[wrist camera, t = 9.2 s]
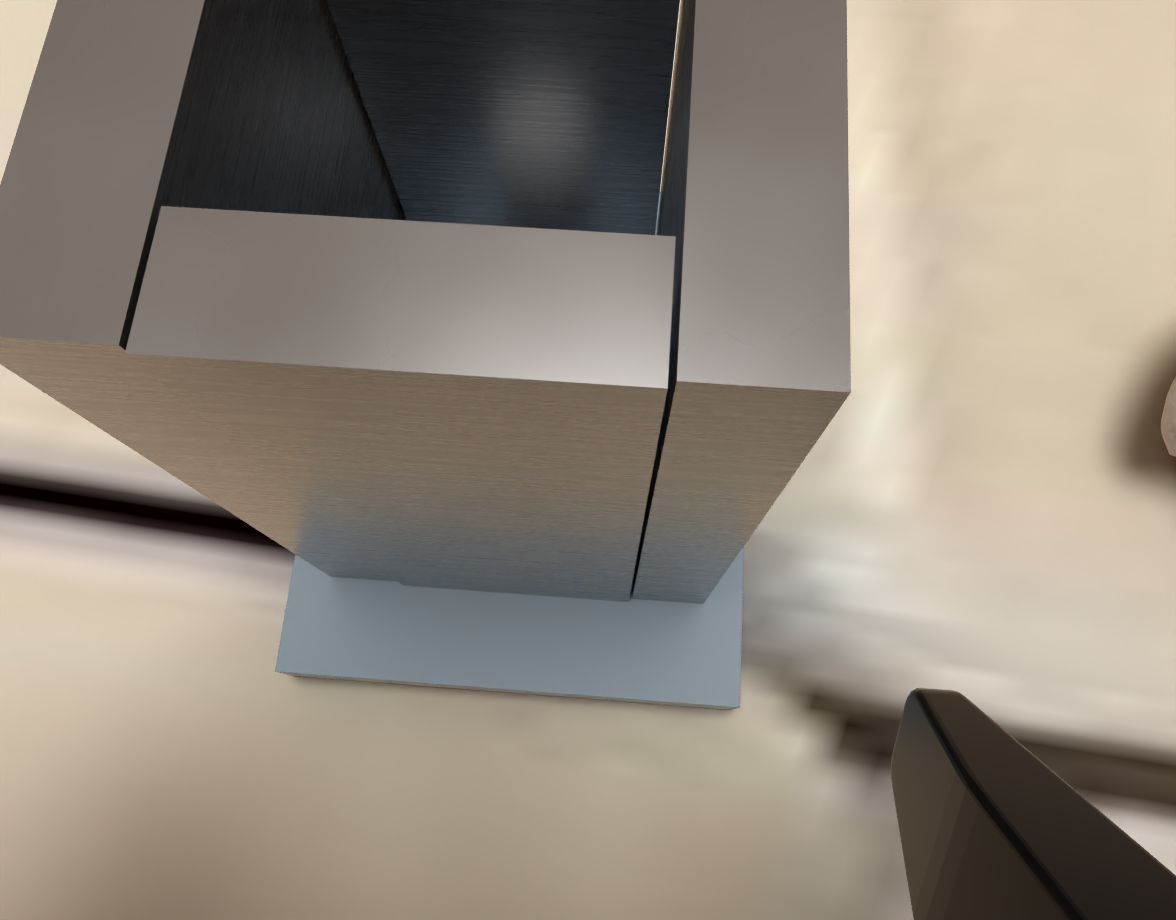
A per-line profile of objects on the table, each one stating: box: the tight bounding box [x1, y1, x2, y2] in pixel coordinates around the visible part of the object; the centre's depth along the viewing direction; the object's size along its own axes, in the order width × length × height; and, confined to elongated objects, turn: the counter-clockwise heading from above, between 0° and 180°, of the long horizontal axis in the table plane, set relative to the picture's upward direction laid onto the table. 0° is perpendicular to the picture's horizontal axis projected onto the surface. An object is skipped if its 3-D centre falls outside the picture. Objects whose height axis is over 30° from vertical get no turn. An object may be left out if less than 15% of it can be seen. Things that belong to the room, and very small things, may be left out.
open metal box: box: [0, 0, 851, 604], centre depth 12 cm, size 7×7×10 cm
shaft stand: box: [275, 192, 744, 710], centre depth 16 cm, size 10×8×4 cm
